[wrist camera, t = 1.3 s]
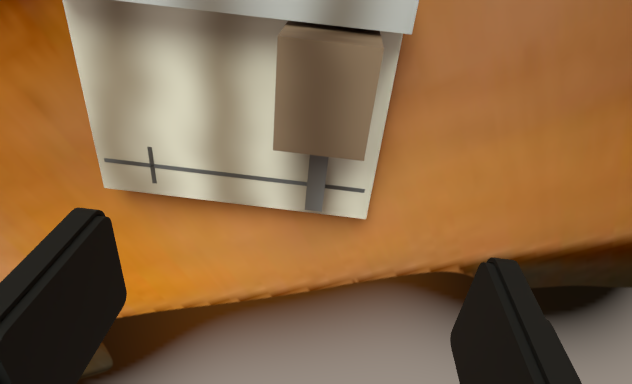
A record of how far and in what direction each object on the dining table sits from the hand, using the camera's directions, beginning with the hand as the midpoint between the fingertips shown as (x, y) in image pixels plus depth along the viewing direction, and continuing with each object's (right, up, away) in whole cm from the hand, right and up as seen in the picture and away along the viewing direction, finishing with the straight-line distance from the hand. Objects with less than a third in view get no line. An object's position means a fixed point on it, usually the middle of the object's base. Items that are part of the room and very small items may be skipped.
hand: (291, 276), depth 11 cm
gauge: (+1, +7, +16) cm, 17 cm away
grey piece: (-5, +9, +18) cm, 21 cm away
